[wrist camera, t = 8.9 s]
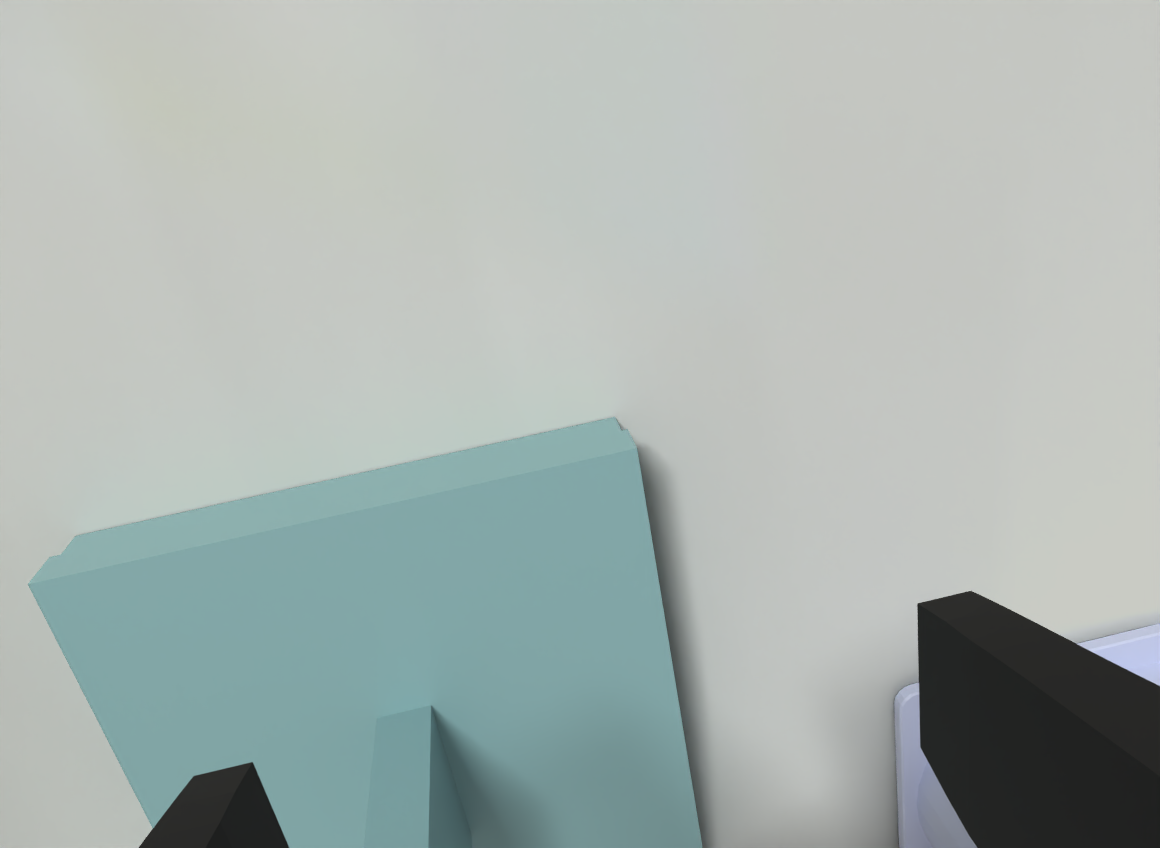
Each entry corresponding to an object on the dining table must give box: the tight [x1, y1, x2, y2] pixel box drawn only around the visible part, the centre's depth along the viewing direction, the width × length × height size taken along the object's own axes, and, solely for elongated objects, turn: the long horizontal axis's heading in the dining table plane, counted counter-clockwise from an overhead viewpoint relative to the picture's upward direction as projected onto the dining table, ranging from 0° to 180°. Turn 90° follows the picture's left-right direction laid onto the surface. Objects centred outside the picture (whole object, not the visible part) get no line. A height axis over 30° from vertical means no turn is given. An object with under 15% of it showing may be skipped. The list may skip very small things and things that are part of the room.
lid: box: [28, 417, 703, 848], centre depth 19 cm, size 12×14×6 cm
